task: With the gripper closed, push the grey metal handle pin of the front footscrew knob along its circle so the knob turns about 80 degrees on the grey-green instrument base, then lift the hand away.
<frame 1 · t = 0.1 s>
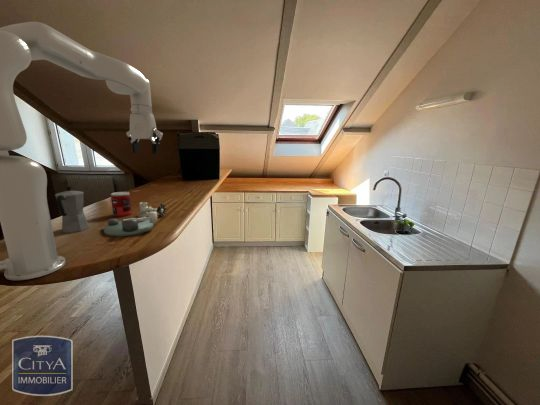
hand: (146, 153, 104), 31 cm above the table, tool pointing down, fingers open, 9 cm apart
coffeepot: (74, 230, 100), on the table
instrument base: (129, 228, 103), on the table
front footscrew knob: (140, 221, 99), point 5 cm above the table, hinge at 0.0°
canned food: (122, 215, 122), on the table
valve: (152, 216, 121), on the table
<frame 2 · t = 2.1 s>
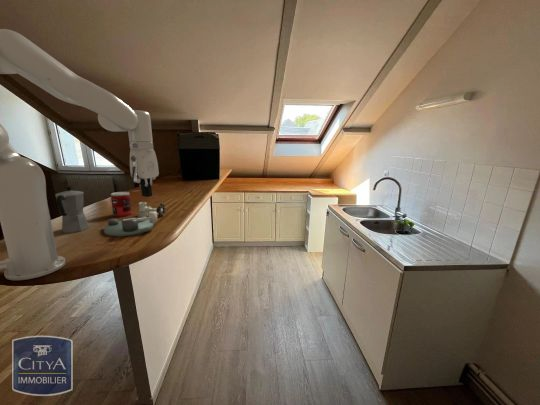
hand: (147, 196, 93), 16 cm above the table, tool pointing down, fingers closed
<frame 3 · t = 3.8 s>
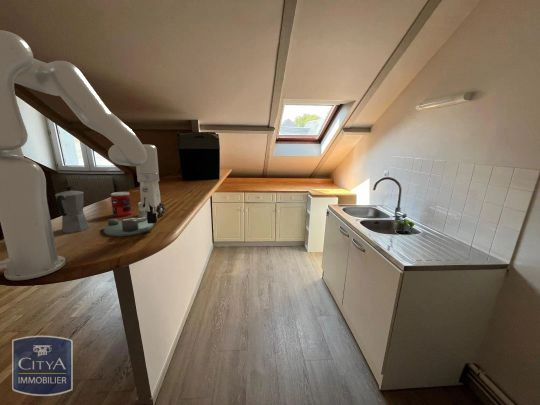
hand: (152, 222, 98), 4 cm above the table, tool pointing down, fingers closed
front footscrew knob: (140, 220, 99), point 5 cm above the table, hinge at 0.7°, touching gripper
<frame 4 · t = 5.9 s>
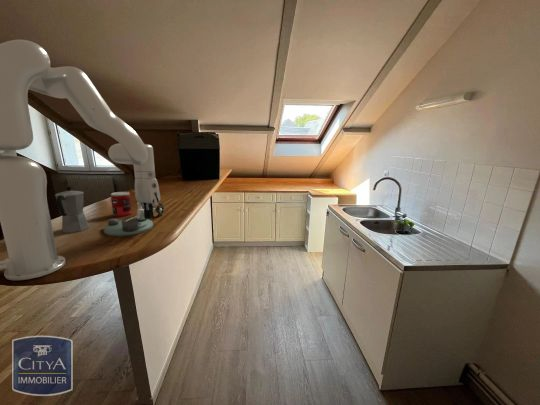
hand: (149, 217, 104), 4 cm above the table, tool pointing down, fingers closed
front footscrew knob: (135, 219, 100), point 5 cm above the table, hinge at 54.4°, touching gripper
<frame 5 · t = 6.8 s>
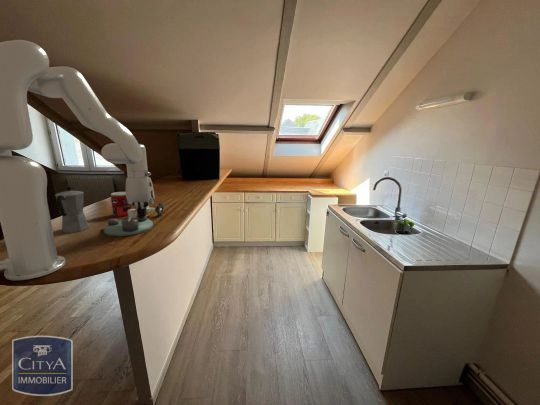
hand: (142, 217, 105), 4 cm above the table, tool pointing down, fingers closed
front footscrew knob: (131, 219, 100), point 5 cm above the table, hinge at 78.8°, touching gripper
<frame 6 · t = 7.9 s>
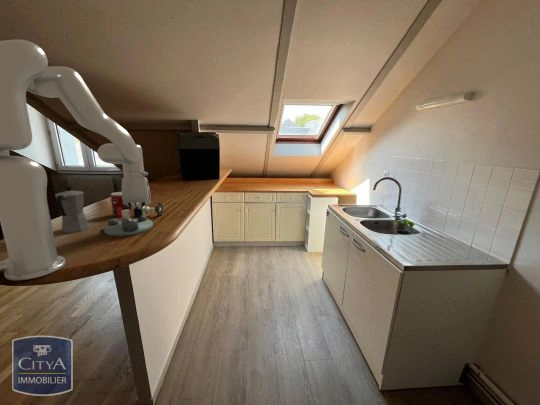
hand: (138, 217, 105), 4 cm above the table, tool pointing down, fingers closed
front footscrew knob: (128, 220, 100), point 5 cm above the table, hinge at 94.1°
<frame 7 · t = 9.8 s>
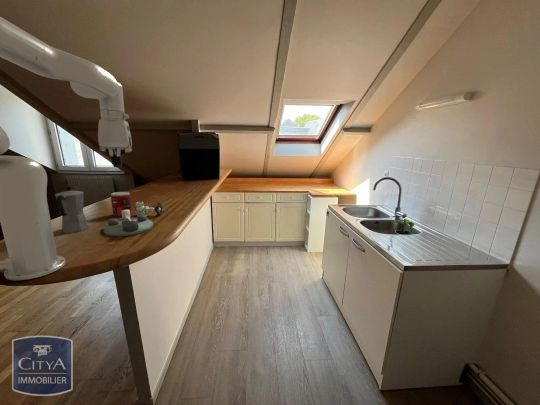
hand: (117, 166, 94), 26 cm above the table, tool pointing down, fingers closed
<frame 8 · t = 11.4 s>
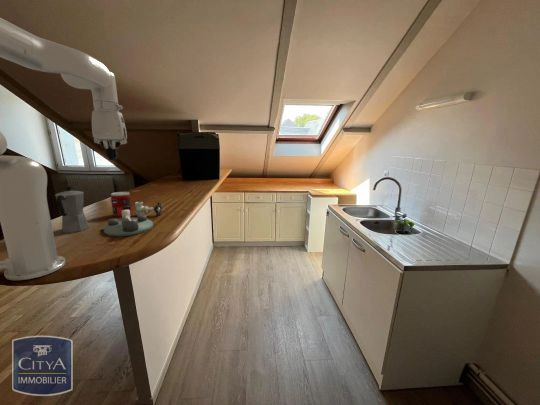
hand: (112, 159, 92), 29 cm above the table, tool pointing down, fingers closed
at the end: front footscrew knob at +94° (first picture: +0°) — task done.
